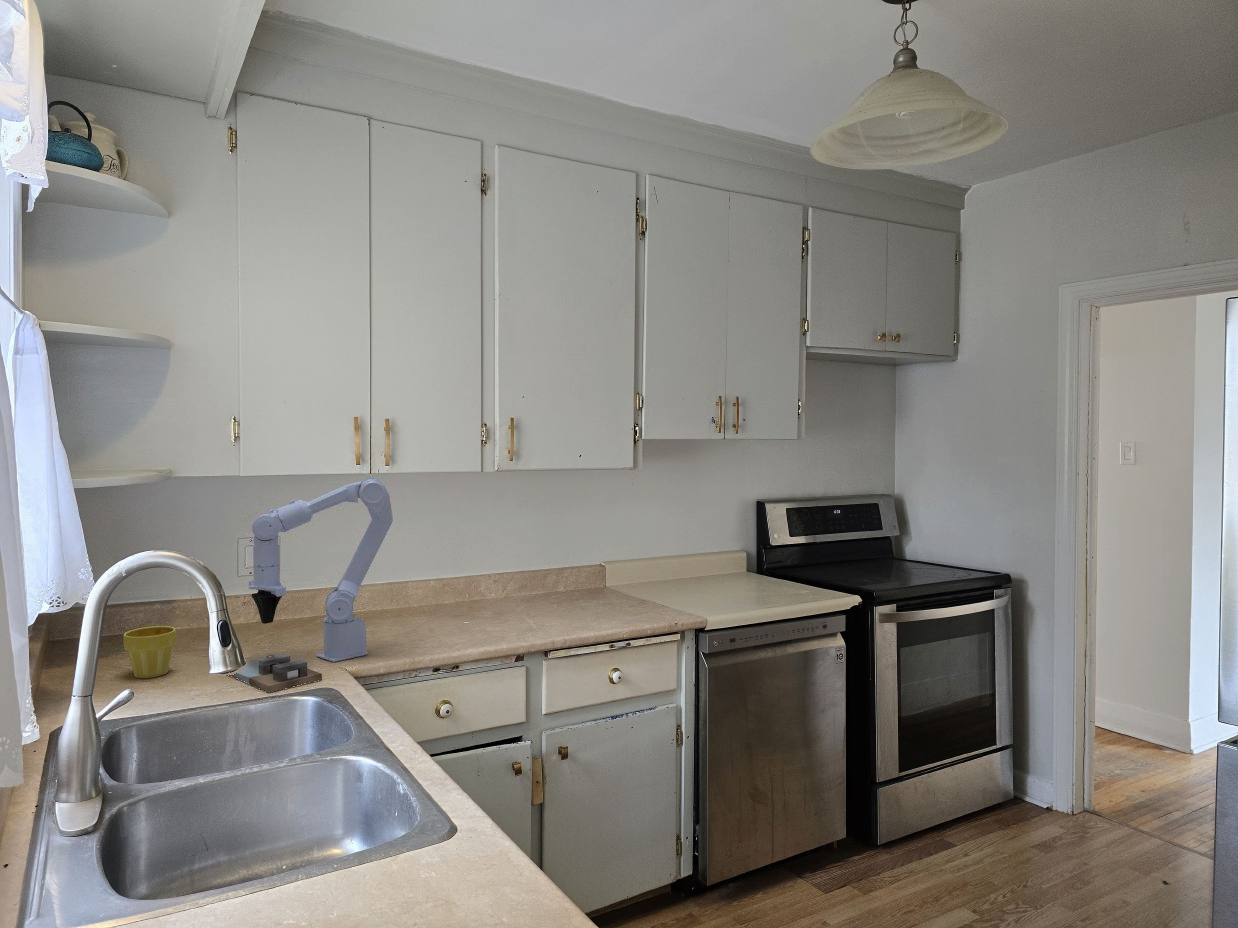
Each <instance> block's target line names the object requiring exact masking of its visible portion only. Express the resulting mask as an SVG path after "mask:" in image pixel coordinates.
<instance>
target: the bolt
mask: <svg viewBox="0 0 1238 928" xmlns="http://www.w3.org/2000/svg"><path fill="white" fill-rule="evenodd" d="M275 656H276V655H275V654H269V655H266V656H265V658H271V657H275ZM277 664H282V663H276V664H271V665H270V673H273V665H277ZM296 677H298V669H295V670H290V671H287V679H291V678H296Z"/></svg>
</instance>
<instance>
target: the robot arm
mask: <svg viewBox="0 0 1238 928" xmlns="http://www.w3.org/2000/svg"><path fill="white" fill-rule="evenodd" d="M359 500H360V501H361V502H362V503H363V504H364V505H365V507H367V511H368V513H369V516H370V518H371V521H370V522H369V525H368V526H367V528H366V530H365V533H364V534H363V536H362V538H361V540H360V542H359V544H358V546H357V547H356V550H355V551H354V554H353V556H352V559H350V562H349V564H348V566H347V568H346V570H345V572H344V573H343V575H342V578H340V580H339V582H338V583H337V585H336V586H335V588H334V589H333V590H332V591H330V592H329V594H328V595H327V596H326V598H325V611H324V612H325V615H326V616H325V617H324V618H323V652H322V653H321V652H320V653H317V654H316V657H318V658H320V659H323V660H327V661H330V662H333V663H334V662H340V661H344V660H348V659H354V658H358V657H362V656H367V655H369V652H368V651H367V626H366V623H365V621H364V619H363V618H362V617H360V616H355V615H354V614H353V612H354V602H355V600H356V598H357V595H358V593H359V589H360V587H361V585H362V583H363V581H364V579H365V577H366V576H367V573H368V572H369V569H370V567H371V565H372V563H373V561H374V559H375V557H376V556H377V553H378V552H379V550H380V548H381V545H382V544H383V541H384V540H385V538H386V535H387V533H388V532H389V530H390V528H391V526H392V524H393V521H394V519H393V518H394V517H393V510H392V505H391V496H390V493H389V492H388V490H387V488H386V486H385V484H384V483H383V482H382V481H380V480H379V479H377V478H374V477H369V478H366V479H363V480H362V481H361V480H359V481H356V482H355V481H354V482H352V483H348V484H345V485H342V486H340V487H339V488H336V489H333V490H331V491H330V492H327V493H325V494H323V495H321V496H319V497H316V498H314V499H311V500H310V501H305V500H302V499H298V500H296V499H291V500H289V502H288V504H286V505H284V506H281V507H279V508H276V509H274V508H272V509H271V508H270V509H269V510H268V512H269V513H264V514H261V515H259V516H258V517H257V518H255V520H254V521H253V523H252V526H251V529H252V530H251V531H252V533H253V536H254V537H253V544H254V545H253V547H252V554H253V555H252V556H253V557H252V559H253V568H252V569H253V580H252V579H251V580H248V590H256V591H257V593H252V594H251V598H252V600H253V602H255V605H256V608H257V610H258V614H259V617H260V621H261V624H264V625H265V624H266V625H267V624H272V623H274V619H275V615H276V610H277V608H278V605H279V603H280V602H281V599H282V597H283V596H284V597H285V596H287V587H285V586H284V585H283V584H282V583H281V572H280V571H281V568H280V567H281V566H280V565H281V564H280V563H281V561H280V560H281V559H280V558H281V556H280V555H281V554H280V550H281V549H280V544H279V533H280V532H281V533H286V532H289V531H291V530H293V529H296V528H298V527H300V526H303V525H306V524H307V523H309V522H311V520H312V518H313V515H315V514H317V513H319V512H321V511H325V510H327V509H330V508H332V507H334V506H337V505H340V504H342V503H346V502H348V503H355V504H356V503H357V504H358V503H359Z"/></svg>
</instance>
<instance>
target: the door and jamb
mask: <svg viewBox="0 0 1238 928" xmlns="http://www.w3.org/2000/svg"><path fill="white" fill-rule="evenodd" d="M245 662H247V665H246V667H245V668H244V669H242V670H241V671H240V672H238V673H236V674H234V675H229V677H230V676H232V677H231V678H233V679H235V678H238V679H239V680H242V681H245V682H247V683H249V684H250V685H249V684H248V685H249V686H251V685H253V686H255V687H257V688H256V689H258V688H260V689H262V690H264V691H263V692H265V691H266V692H265V693H267V692H268V693H267V694H271V693H270V692H272V693H275V692H274V691H276V692H278V691H277V690H280V691H283V690H282V689H284V690H286V689H285V688H289V689H291V688H290V687H293V686H297V685H301V684H304V683H309V682H314V681H318V680H322V681H323V673H320V672H318V671H315V670H313V669H310V668H309V667H308V662H307V661H306V660H302V659H297V660H292V661H291V655H289V654H281V655H275V657H271V658H266V657H262V658H257V659H253V660H247V661H245ZM276 663H282V664H277V665H273V673H270V665H271V664H276ZM295 669H298V677H296V678H291V679H287V671H290V670H295ZM239 680H238V681H239ZM242 681H241V682H242ZM318 682H319V681H318ZM314 683H315V682H314ZM253 686H252V687H253ZM301 686H302V685H301ZM255 687H254V688H255ZM297 687H298V686H297ZM293 688H294V687H293ZM260 689H259V690H260ZM262 690H261V691H262Z"/></svg>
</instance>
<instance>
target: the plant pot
mask: <svg viewBox="0 0 1238 928" xmlns="http://www.w3.org/2000/svg"><path fill="white" fill-rule="evenodd" d="M122 637H123V649H124V650H125V651H127V654H128V657H129V661H130V665H131V668H132V672H133V675H134V678H137V679H138V678H139V679H150V678H156V677H157V678H158V677H160V676H161V677H162V676H164V675H166V674H168V672H169V669H170V665H171V659H172V654H173V648H174V645H176V643H177V628H176V627H174V626H169V625H156V626H155V625H154V626H145V627H140V628H135V629H131V630H128V631H126V632H124V634H123V635H122Z"/></svg>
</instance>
